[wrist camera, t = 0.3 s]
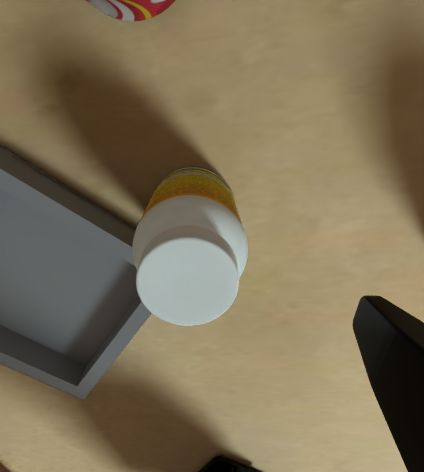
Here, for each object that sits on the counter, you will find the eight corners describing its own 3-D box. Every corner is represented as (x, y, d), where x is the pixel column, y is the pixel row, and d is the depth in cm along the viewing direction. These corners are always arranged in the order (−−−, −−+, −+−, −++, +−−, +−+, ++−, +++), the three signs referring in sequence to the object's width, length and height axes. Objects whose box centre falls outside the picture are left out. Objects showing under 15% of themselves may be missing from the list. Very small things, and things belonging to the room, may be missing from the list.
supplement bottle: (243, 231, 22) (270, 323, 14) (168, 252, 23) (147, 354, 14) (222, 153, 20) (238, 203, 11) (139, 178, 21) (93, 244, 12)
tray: (93, 374, 27) (83, 400, 25) (-72, 297, 24) (-101, 319, 21) (182, 257, 23) (180, 276, 21) (-1, 145, 20) (-28, 152, 17)
